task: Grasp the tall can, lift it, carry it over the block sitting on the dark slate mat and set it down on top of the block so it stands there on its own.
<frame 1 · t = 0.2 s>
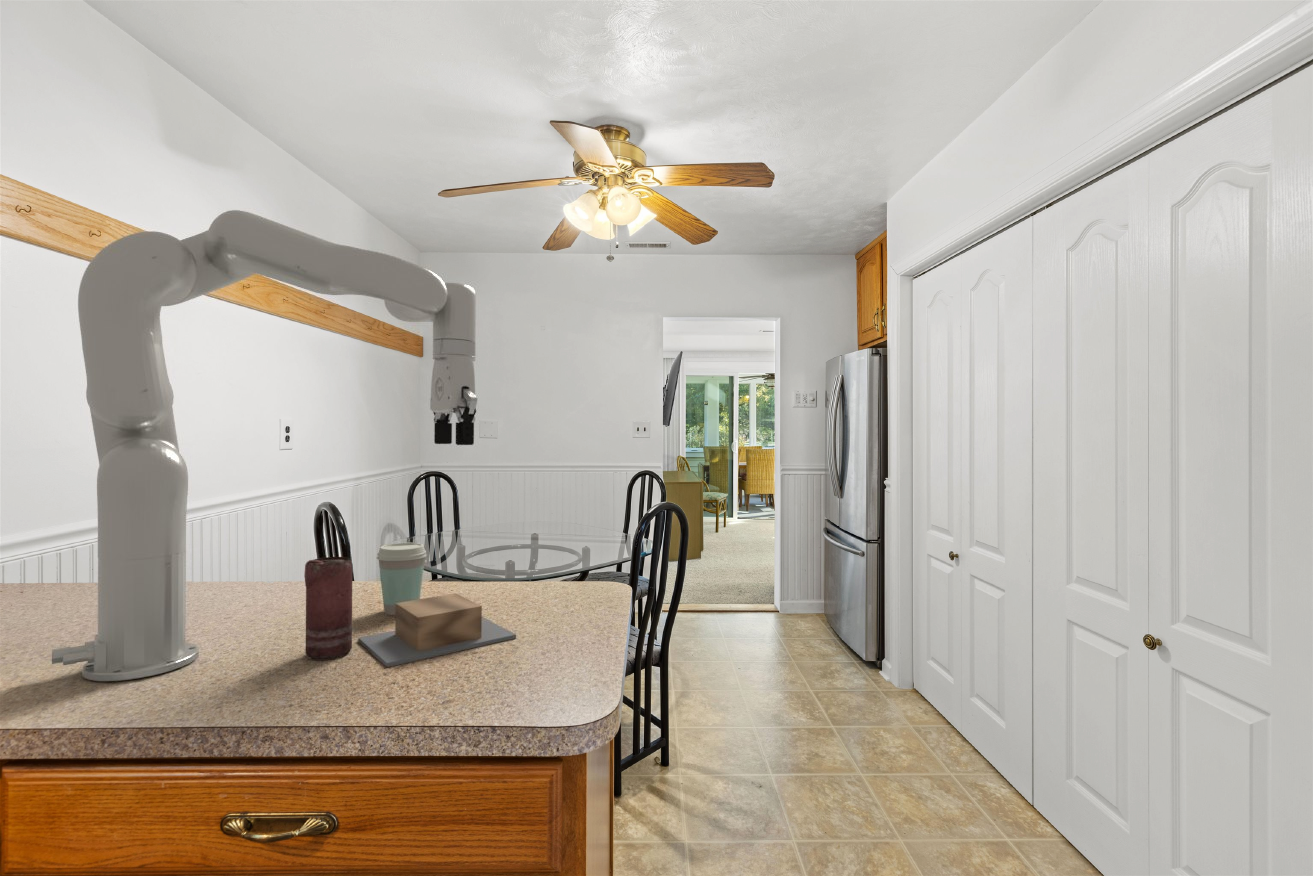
hand: (453, 444, 116), 31 cm above the counter, fingers open, 9 cm apart
block: (438, 636, 100), point 1 cm above the counter, touching mat
can: (328, 655, 93), on the counter
mat: (438, 639, 100), on the counter
coffee cup: (401, 612, 116), on the counter
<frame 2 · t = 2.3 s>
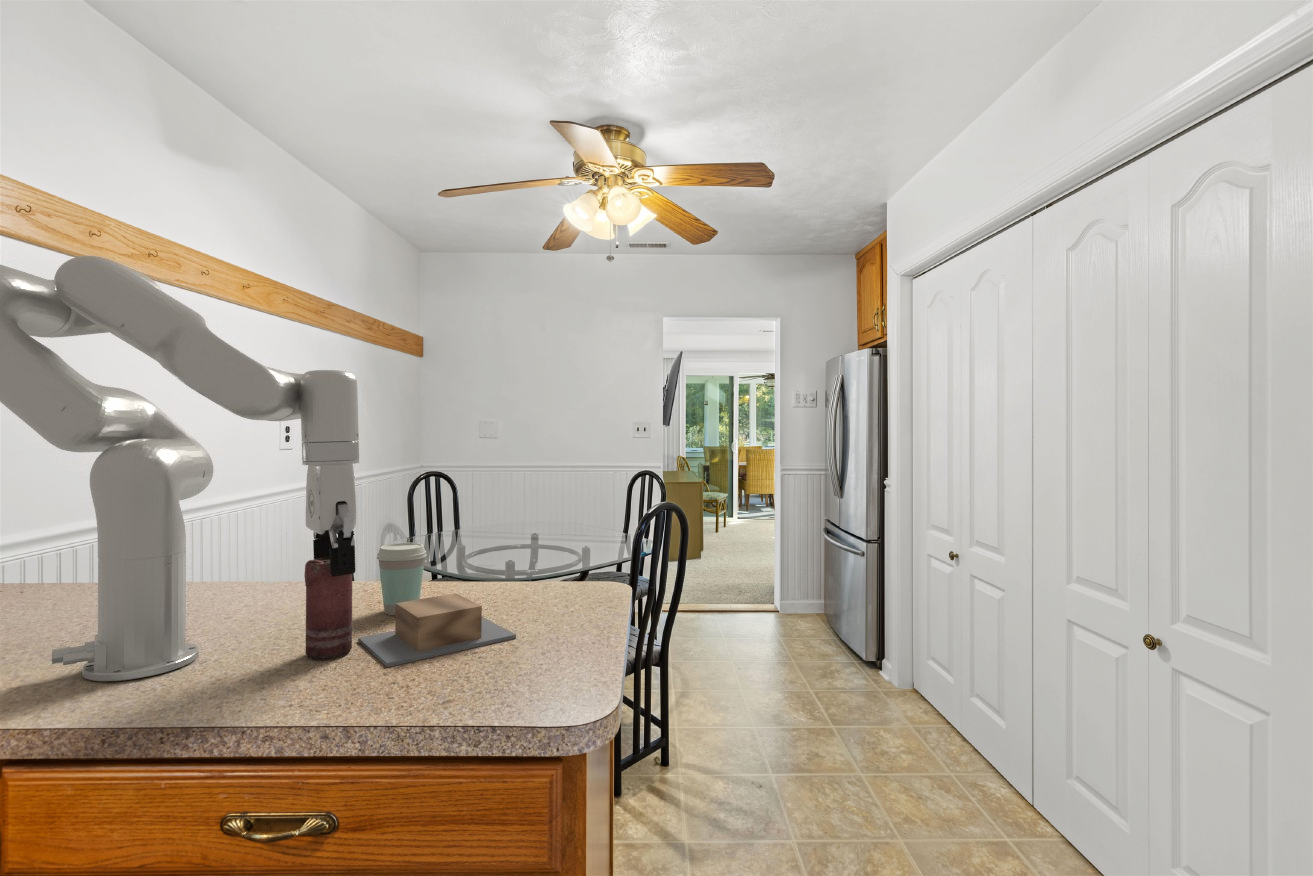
hand: (334, 569, 93), 12 cm above the counter, fingers open, 9 cm apart
nothing on the counter moved.
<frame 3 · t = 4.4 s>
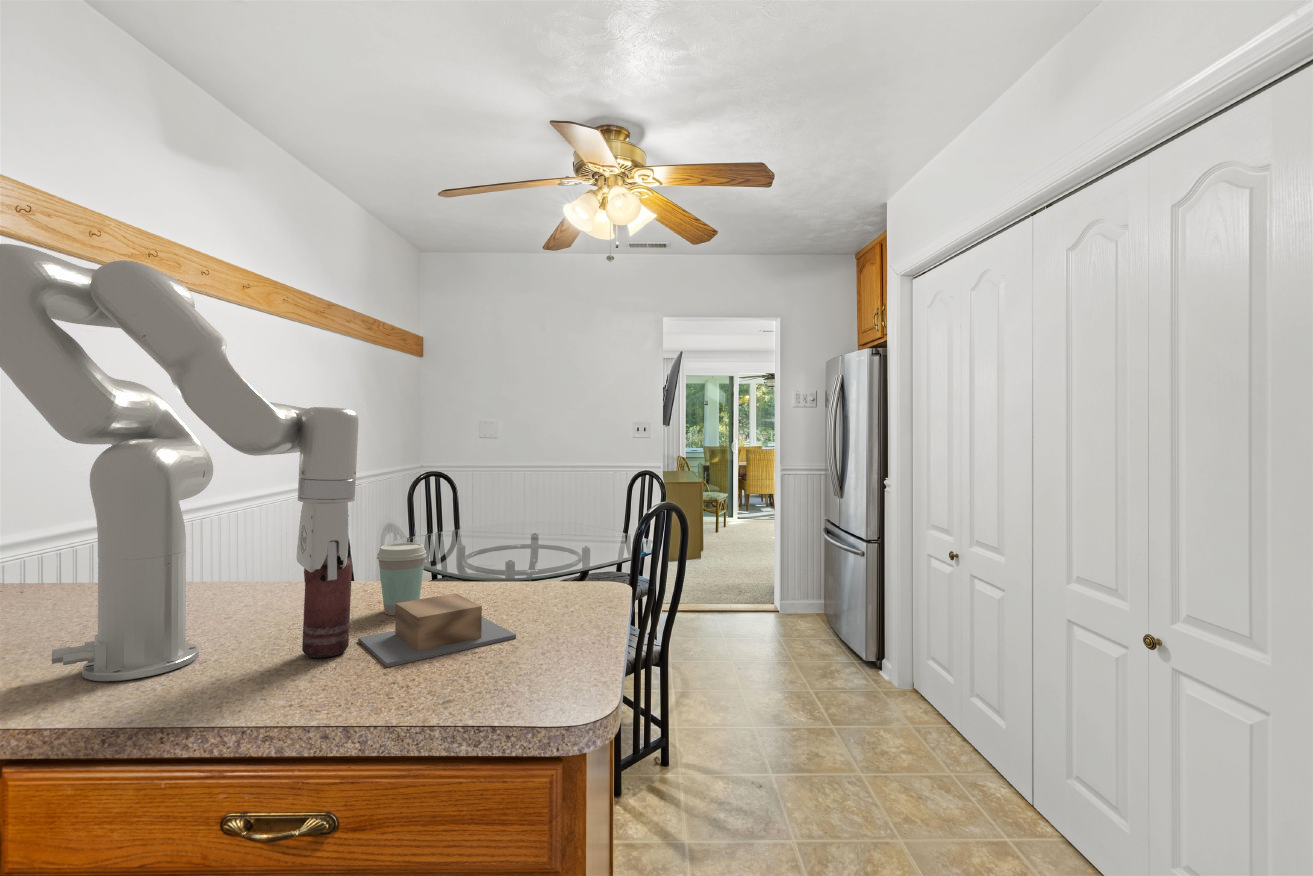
hand: (320, 614, 93), 6 cm above the counter, fingers closed
can: (324, 652, 93), on the counter, touching gripper
everything else where it was.
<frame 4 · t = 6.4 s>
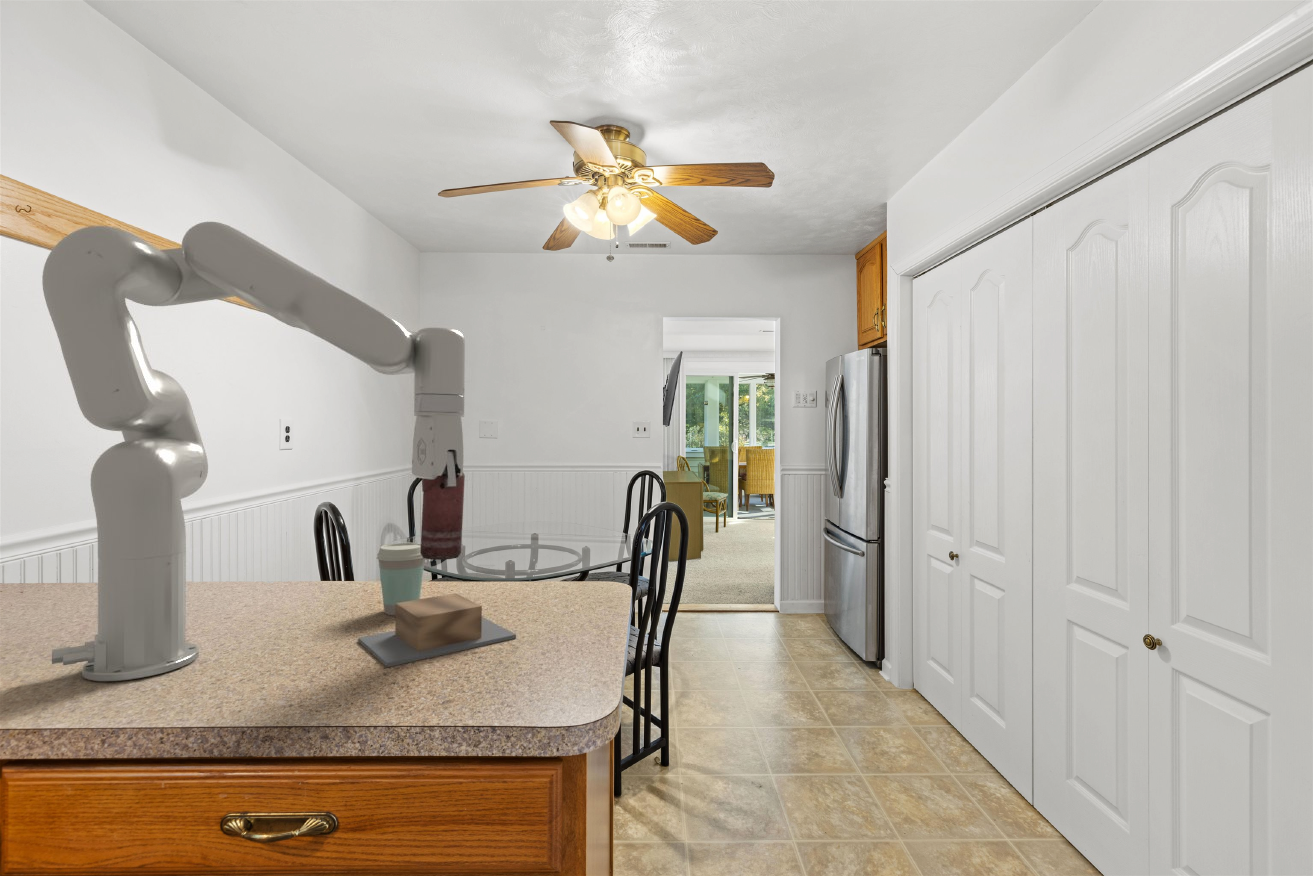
hand: (438, 522, 100), 19 cm above the counter, fingers closed
can: (439, 557, 99), point 13 cm above the counter, touching gripper
everything else where it was.
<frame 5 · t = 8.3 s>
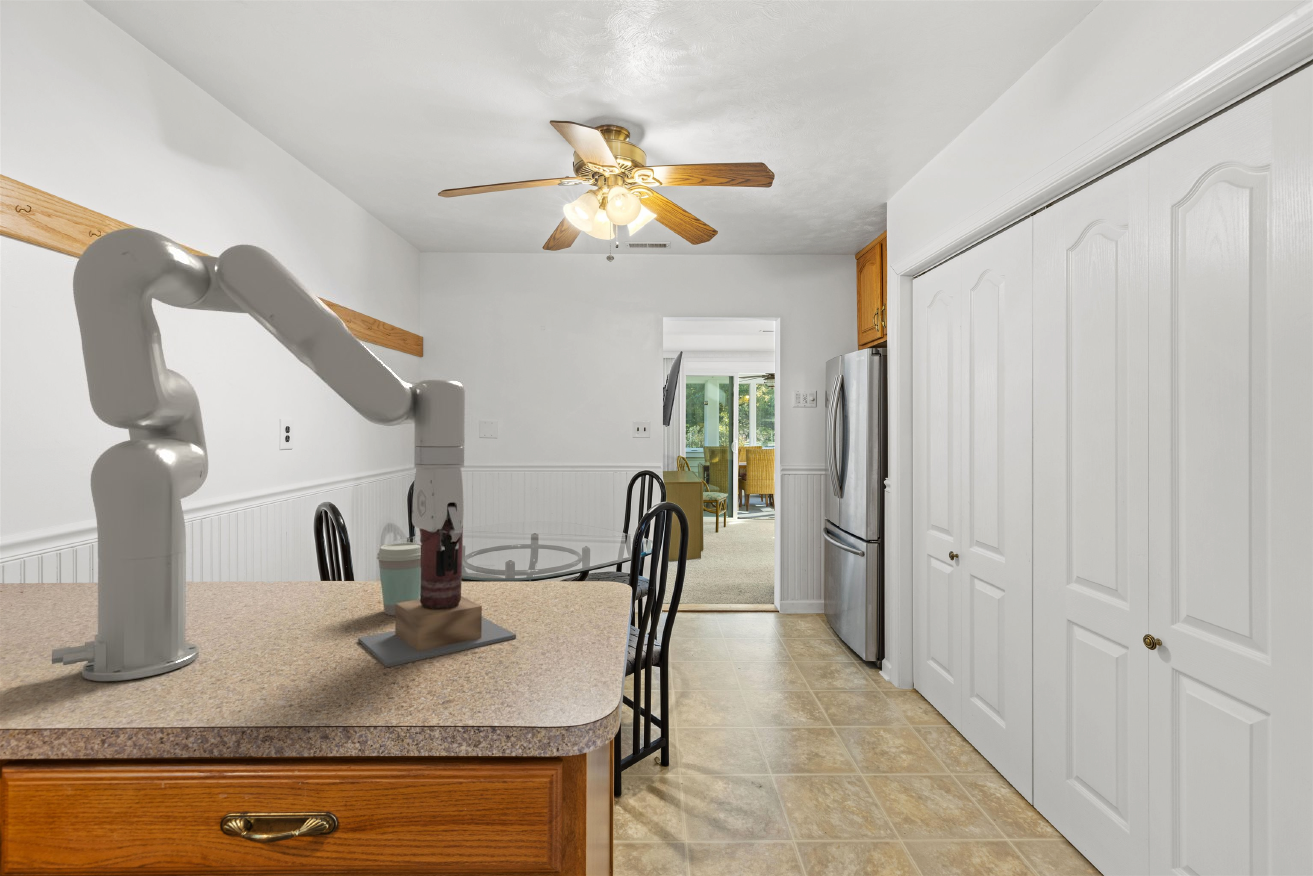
hand: (438, 570, 100), 11 cm above the counter, fingers open, 5 cm apart
block: (438, 636, 100), point 1 cm above the counter, touching can, mat
can: (439, 605, 99), point 6 cm above the counter, touching block
everything else where it was.
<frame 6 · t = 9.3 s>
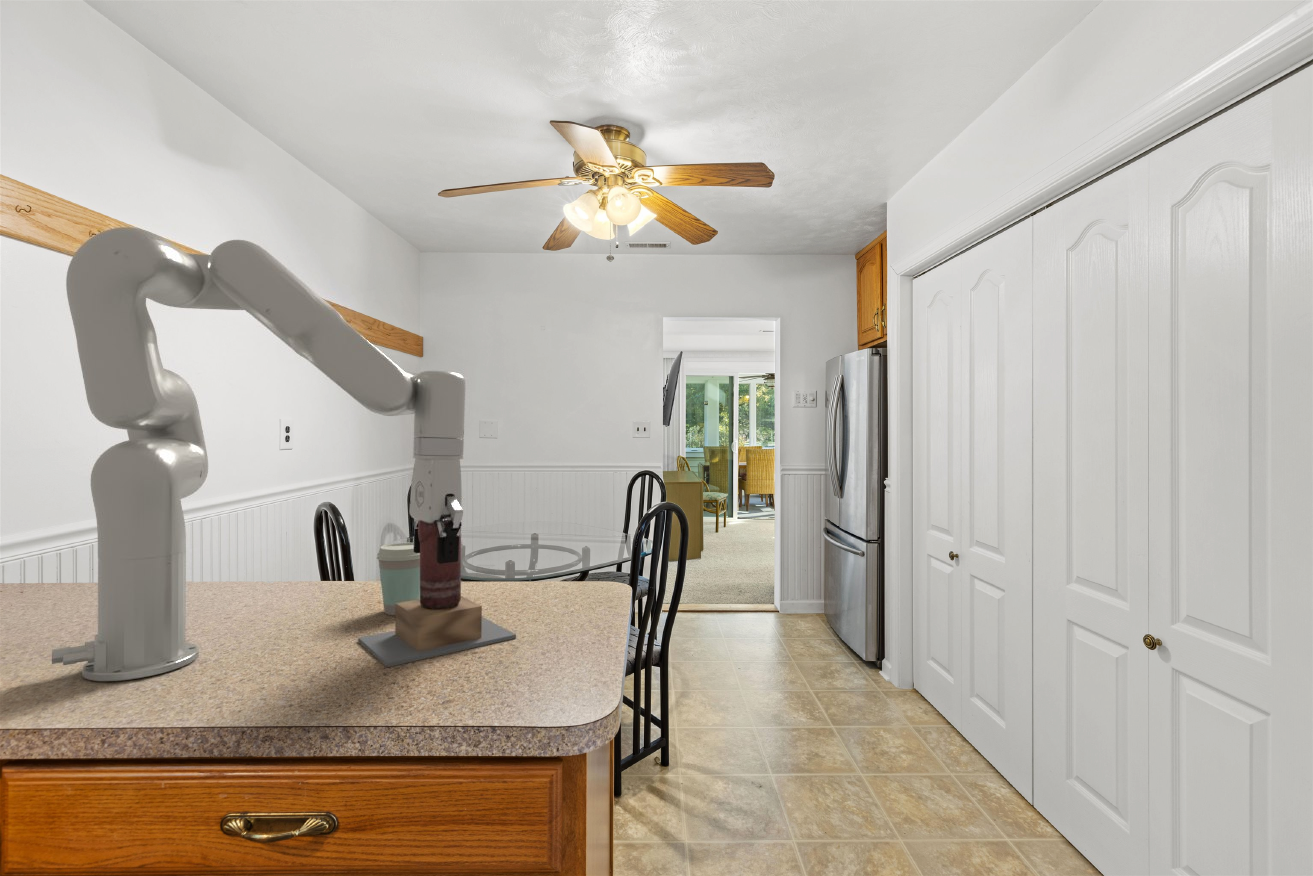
hand: (435, 557, 99), 13 cm above the counter, fingers open, 9 cm apart
nothing on the counter moved.
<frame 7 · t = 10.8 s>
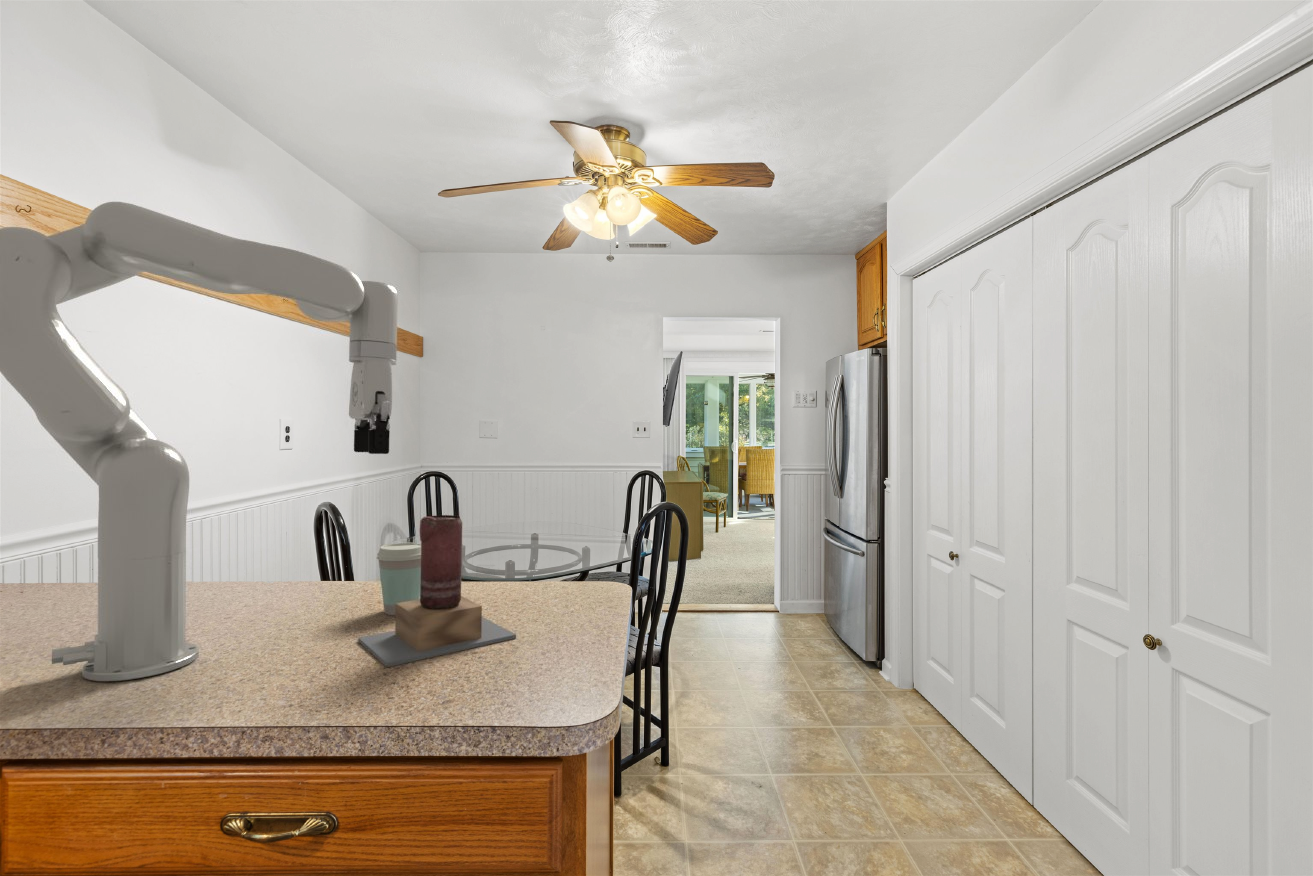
hand: (370, 452, 109), 29 cm above the counter, fingers open, 9 cm apart
nothing on the counter moved.
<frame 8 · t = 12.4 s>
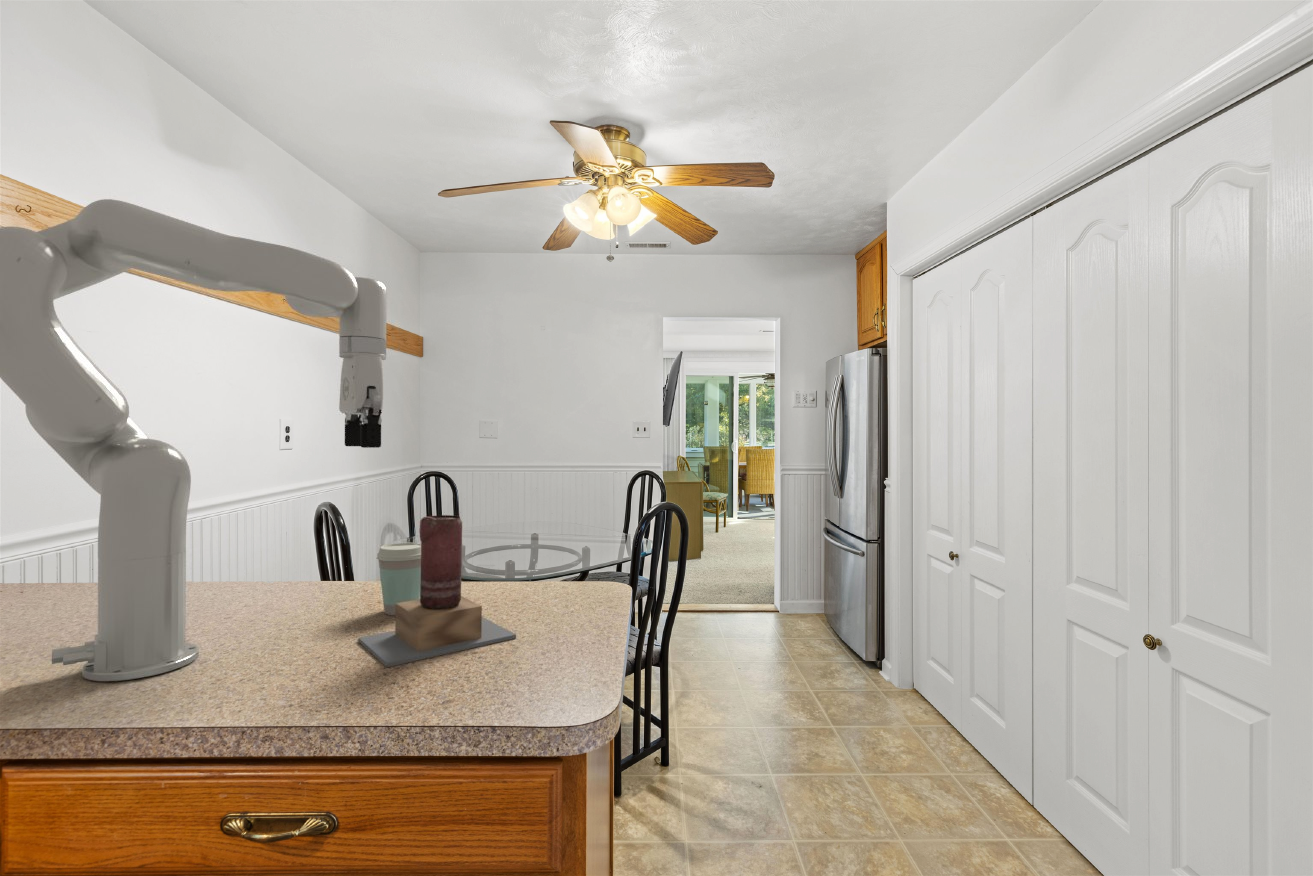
hand: (362, 446, 111), 30 cm above the counter, fingers open, 9 cm apart
nothing on the counter moved.
at the end: can inside the target area on the block (0.3 cm from its centre), point 4.8 cm above the block's base; can touching block; can tilted 1° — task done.
